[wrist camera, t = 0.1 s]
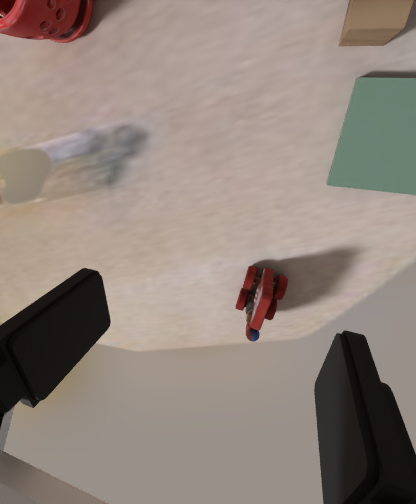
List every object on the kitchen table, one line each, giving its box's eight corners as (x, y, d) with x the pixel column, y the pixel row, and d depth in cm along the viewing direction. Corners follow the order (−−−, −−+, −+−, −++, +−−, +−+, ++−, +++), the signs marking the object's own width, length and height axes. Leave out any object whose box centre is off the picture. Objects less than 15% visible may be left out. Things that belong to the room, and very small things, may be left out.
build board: (356, 78, 28) (358, 77, 27) (482, 80, 25) (490, 79, 24) (326, 183, 34) (327, 185, 33) (426, 194, 31) (430, 196, 30)
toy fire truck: (235, 305, 49) (223, 345, 40) (252, 254, 43) (242, 288, 34) (269, 317, 48) (263, 361, 39) (291, 266, 41) (291, 305, 33)
